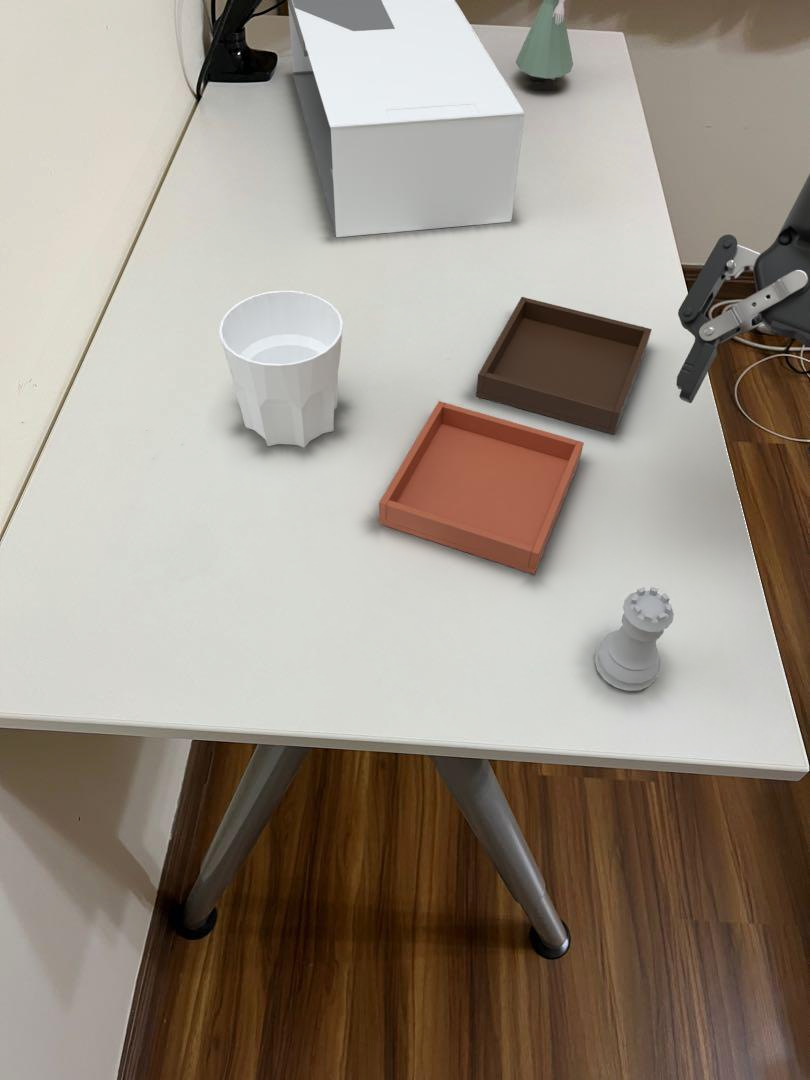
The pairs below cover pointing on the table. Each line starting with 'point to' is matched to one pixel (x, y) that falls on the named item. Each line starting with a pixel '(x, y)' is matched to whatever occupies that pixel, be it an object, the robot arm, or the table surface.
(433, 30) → the white box
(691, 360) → the robot arm
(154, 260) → the table surface
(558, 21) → the character figurine
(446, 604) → the table surface
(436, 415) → the terracotta tray
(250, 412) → the cup
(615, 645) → the rook chess piece
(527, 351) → the walnut tray
